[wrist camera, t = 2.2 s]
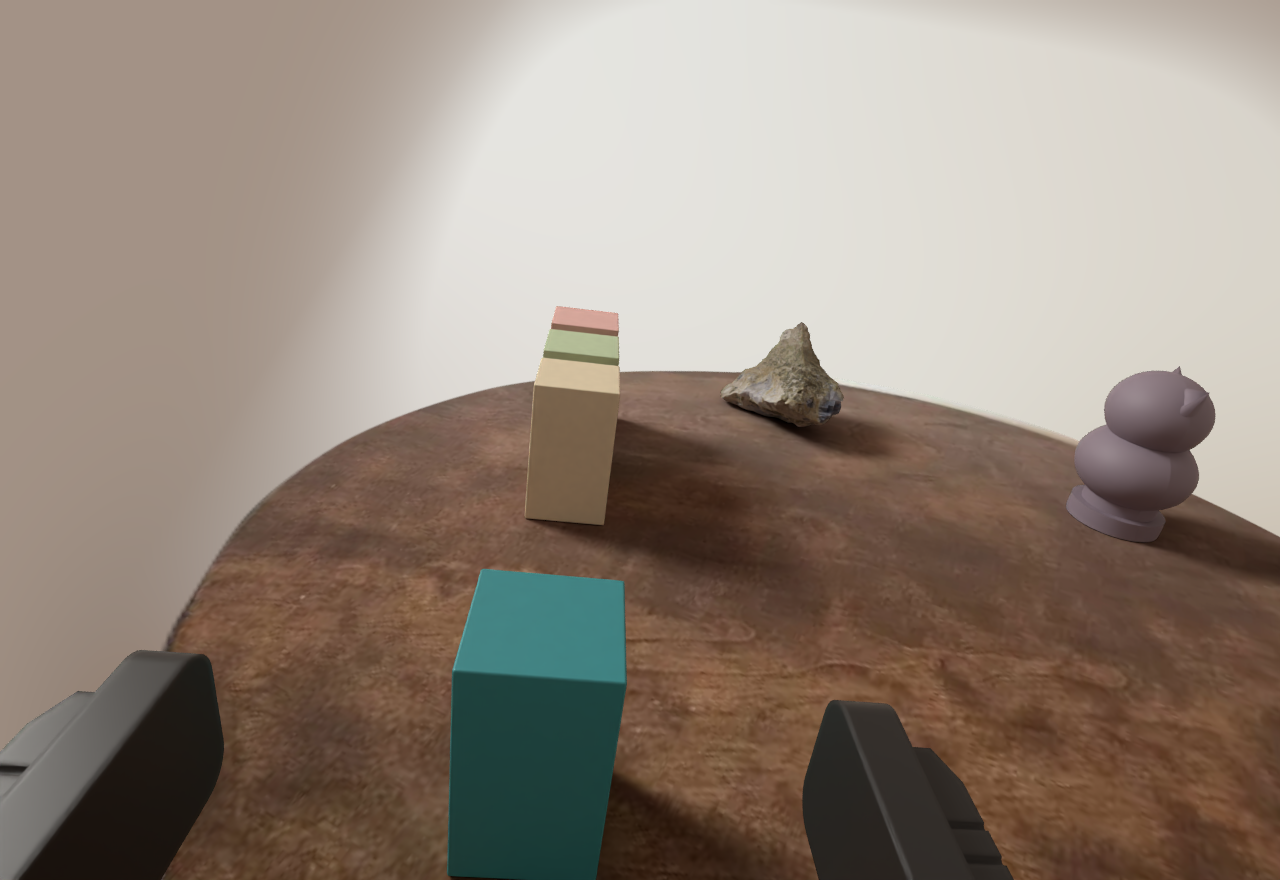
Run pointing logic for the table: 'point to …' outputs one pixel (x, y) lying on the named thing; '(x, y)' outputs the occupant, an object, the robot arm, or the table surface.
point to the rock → (788, 384)
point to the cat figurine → (1141, 455)
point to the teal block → (535, 725)
